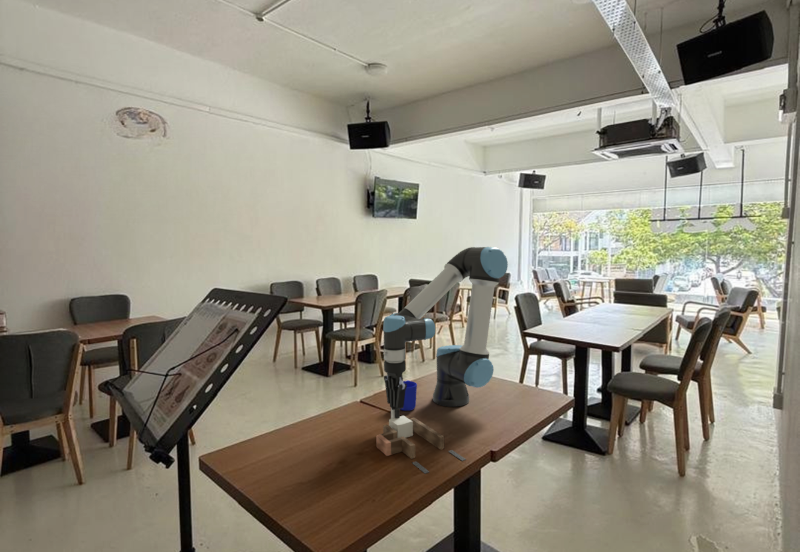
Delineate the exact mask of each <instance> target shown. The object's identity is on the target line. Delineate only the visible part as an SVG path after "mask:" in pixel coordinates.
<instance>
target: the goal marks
mask: <svg viewBox="0 0 800 552" xmlns="http://www.w3.org/2000/svg"><path fill="white" fill-rule="evenodd" d="M447 452H448V453H449V454H451V455H453V456H454V457H456V458H457V459H458V460H460V461H461V462H463V461H466V460H467V459H466V458H465V457H464V456H462V455H461V454H459V453H458V452H456V451H454V450H453V449H451V450H448V451H447ZM411 463H412V465H414V466H415V467H416V468H417V469H418V468H419V471H421V472H422V473H424V474H429V473H430V471H429V470H428V469H427V468H425V467H424V466H423V465H421V464H420V463H419V462H418V461H413V462H411Z"/></svg>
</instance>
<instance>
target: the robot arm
mask: <svg viewBox="0 0 800 552" xmlns="http://www.w3.org/2000/svg"><path fill="white" fill-rule="evenodd" d="M508 266H509V263H508V258H507V256H506V255H505V252H504V251H502V250H501V249H500V248H497V247H494V246H493V247H492V246H482V247H481V246H480V247H479V246H478V247H477V246H476V247H475V246H470V247H467V248H464V249H463V250H461V251H459V252H458V253H457V254H455V255H454V256H453V257H452V258H451V259H449V260H448V261H447V262H446V263H445V265H444V266H443V268H444V269H442V271H441V272H440V273H439V274H437V276H435V278H433V279H432V280H431V281H430V283H429V284H427V285H426V286H425V287H424V288H423V289H422V290H421V291H420V292H419V293H418V294H417V295H416V296H415V297H414V298H413V299H412V300H411V301H409V303H408V304H407V305H406V306H405V307H403V309H402V310H400V311H399V312H395V313H394V312H393V313H392V314H390V315H387V316H385V317H384V318H383V327H382V328H383V329H382V330H383V360H384V362H383V371H384V372H385V373H386V375H384V376H383V381H384V385H385V394H386V401H387V404H388V405H389V407H390V419H392V418H400V415H401V408H403V407H404V399H405V391H406V388H407V384H406V383H405V384H404V383H403V381H404V377H403V373H404V372H406V343H409V342H418V341H425V340H430V339H432V338H433V337H435V334H436V325H435V322H434V320H433V319H431V318H427V317H426V318H424V316H425V314H427V312H428V311H430V310H431V309H432V308H433V307H434V306H435V305H436V304H437V303H438V302H439V301H440V300H441V299H442V298H443V297H444V296H445V295H446V294H447V293H448V292H449V291H450V290H451V289H452V288H453V287H454V286H455V285H456V284H457V283H461V282H463V281H464V279H466V278H468V280H469V281H470V283H471V290H470V291H471V292H470V298H469V306H468V312H467V313H468V314H467V318H466V319H467V322H466V328H465V335H464V343H463V345H461V344H460V345H459V344H451V345H444V346H443V345H442V346H440V347H438V348H437V349H436V383H435V387H434V391H433V393H432V401H433V403H435V405H438V406H443V407H450V408H451V407H452V408H453V407H462V406H465V405H467V404H469V402H470V394H469V391H468V388H467V386H468V387H473V388H475V389H476V388H479V389H480V388H482V387H485V386H486V385H487V384H488V383H489V382H490V381H491V379H492V378H493V375H494V365H493V362H492V361H491V360H490V352H489V350H488V349H487V344H488V337H489V330H490V323H491V316H492V315H491V314H492V307H493V300H494V292H495V287H496V286H497V285H499V284H500V279H501V278H502V277H504V276H505V274H506V273H507V271H508Z"/></svg>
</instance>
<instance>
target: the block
mask: <svg viewBox="0 0 800 552" xmlns="http://www.w3.org/2000/svg"><path fill="white" fill-rule="evenodd" d="M388 425H389V426H390V427H391V428H393V429H394V430H395V431H397V438H399V437H403V436H404V437H405V438H406V439H407V438H409V437H413V435H414V431H413V421H411V418H408V417H407V416H405V415H401V416H400V418H392V419H391V418H388Z"/></svg>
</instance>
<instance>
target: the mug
mask: <svg viewBox="0 0 800 552" xmlns="http://www.w3.org/2000/svg"><path fill="white" fill-rule="evenodd" d="M403 383H404V384H405V383H406V384H407V388H406V391H405V399H404V407H403V408H401V409H400V411H404V412H405V411H409V412H410V411H413V410H414V409H415V408H416V405H417V403H416V402H417V389H418V387H417V386H418V384H417V382H415V381H412V380H407V379H406V380H403Z"/></svg>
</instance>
